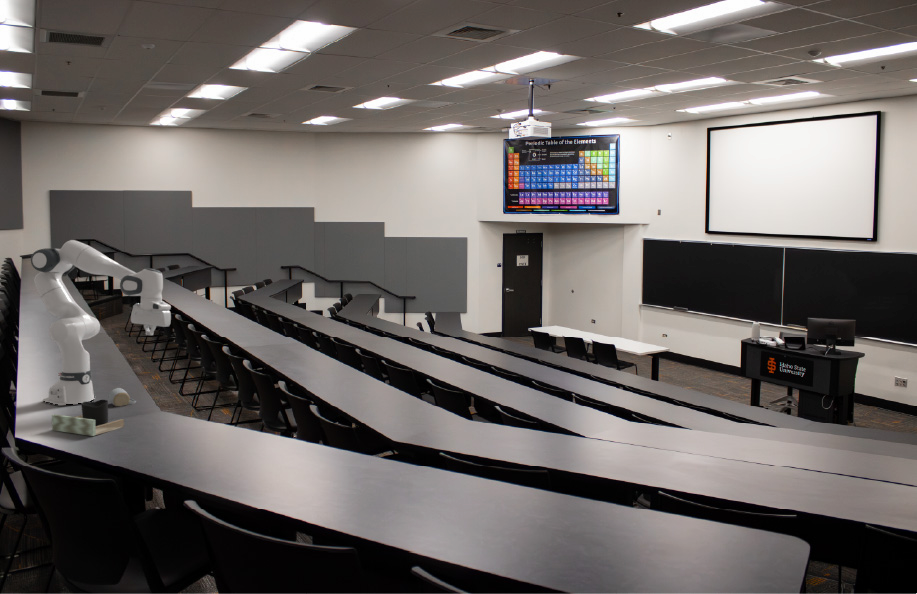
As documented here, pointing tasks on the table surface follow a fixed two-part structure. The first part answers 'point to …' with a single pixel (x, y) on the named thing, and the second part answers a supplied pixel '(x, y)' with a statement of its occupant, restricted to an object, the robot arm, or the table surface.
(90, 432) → the corral
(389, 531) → the table surface
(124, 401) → the ceramic mug
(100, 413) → the pen holder
